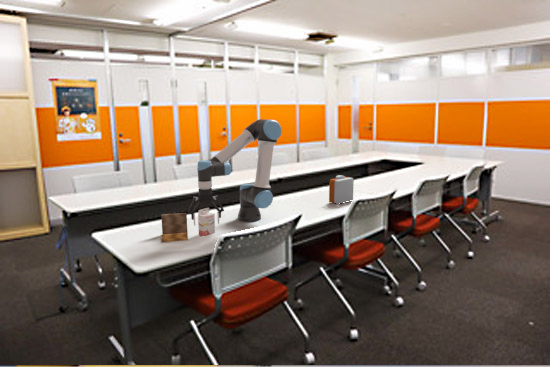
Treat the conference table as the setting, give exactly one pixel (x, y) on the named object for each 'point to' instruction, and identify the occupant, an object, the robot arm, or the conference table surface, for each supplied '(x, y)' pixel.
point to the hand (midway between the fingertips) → (206, 224)
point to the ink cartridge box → (206, 222)
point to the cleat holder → (174, 227)
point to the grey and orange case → (341, 189)
